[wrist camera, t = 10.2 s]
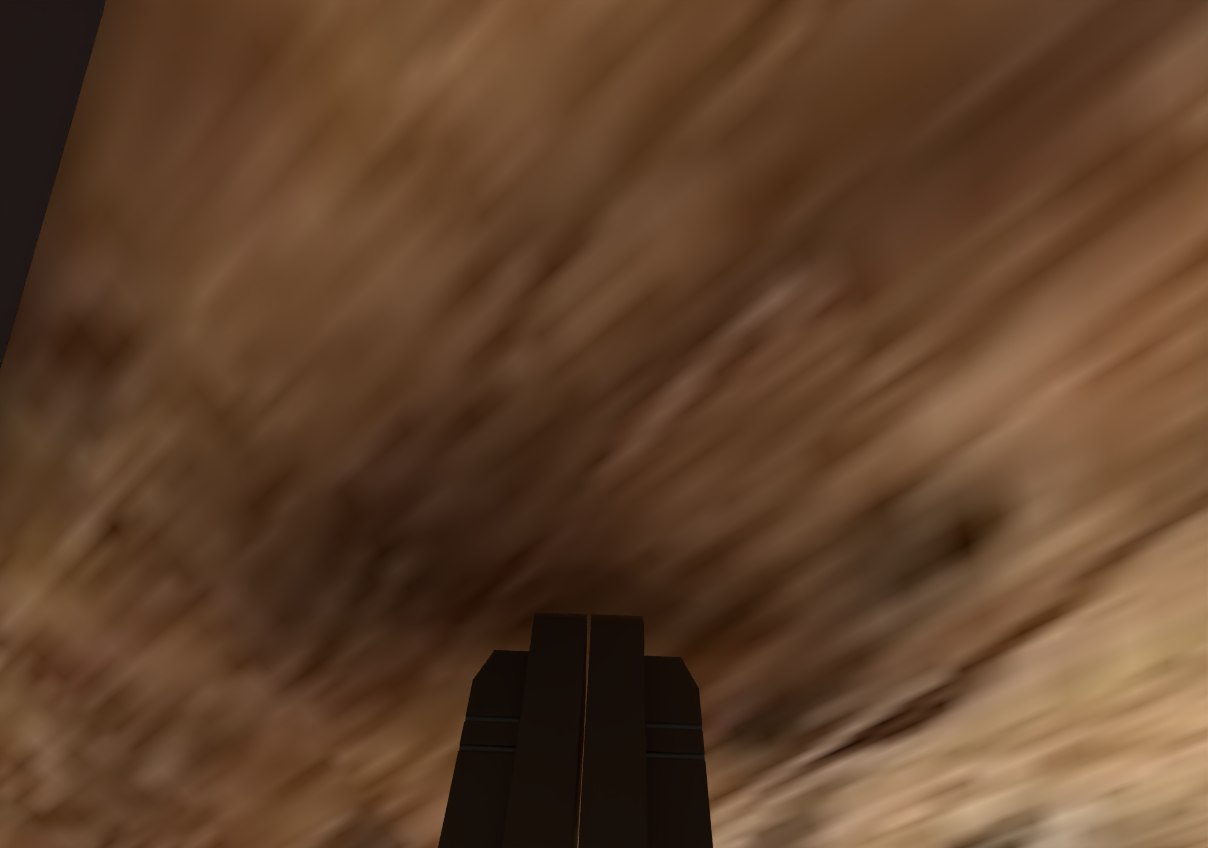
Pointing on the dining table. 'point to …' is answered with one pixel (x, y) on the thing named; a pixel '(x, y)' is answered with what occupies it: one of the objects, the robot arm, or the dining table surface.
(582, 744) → the robot arm
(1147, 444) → the dining table surface
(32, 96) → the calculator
